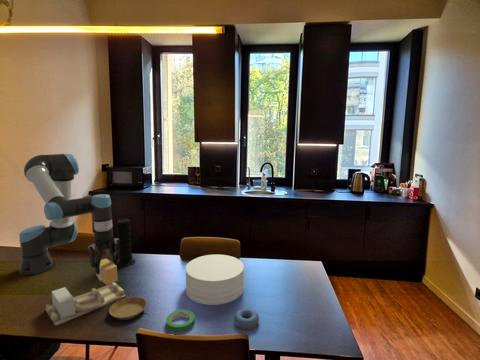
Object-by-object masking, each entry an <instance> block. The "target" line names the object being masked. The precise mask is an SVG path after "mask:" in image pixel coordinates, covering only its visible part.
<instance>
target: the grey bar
mask: <svg viewBox="0 0 480 360" xmlns="http://www.w3.org/2000/svg"><path fill="white" fill-rule="evenodd" d="M73 297H74V296H73V295H72V294H71V293H70V292H69V290H68V288H67V287H66V286H64V287H61V288H58V289H54V290H52V291H51V298H52V299H51V300H52V305H53V307H54V309H55V310H56V312H57V313H58V315H59V316H60V318H61V319H63V318H65V317H68V316H70V315H73V314H75V307H74V298H73Z"/></svg>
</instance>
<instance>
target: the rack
mask: <svg viewBox="0 0 480 360" xmlns="http://www.w3.org/2000/svg"><path fill="white" fill-rule="evenodd" d="M73 298H74V307H75V314H73V315H70V316H68V317H65V318H63V319H61V318H60V316H59V315H58V313H57V312H56V310H55V309H54V307H53V304H52V305H51V304H50V303H48V304H46V305H45V311H46V313H47V314H48V316H49V318H50V319H51V322H52V323H53V325H54V327H56V326H59V325H61V324H64V323H67V322H69V321H71V320H73V319H77V318H78V317H80V316H83V315H86V314H88V313H90V312H93V311H95V310H97V309H100V308H102V307H105V306H107V305H108V306H109V305H111V304H112V303H113V304H114V303H116V302H117V301H119V300H122V299H125V298H127V297H126V294H125V290H124V289H123V288H122V287H121V286H120V285H119V284H118V283H116V282H113V283H111V284H108V285H104V286H102V287H99V288H97V289H96V287H93V288H91V291H88V292H86V293H83V294H80V295H77V296H75V297H74V296H73Z"/></svg>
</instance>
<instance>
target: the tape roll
mask: <svg viewBox="0 0 480 360" xmlns="http://www.w3.org/2000/svg"><path fill="white" fill-rule="evenodd" d="M178 318H186V319H188V321H186V322H184V323H178V324H177V323H174V322H173V321H174V320H176V319H178ZM195 323H196V316H195V313H194V312H193V311H191V310H188V309H177V310H174V311H172V312H171V313H169V314H168V315H167V317H166V320H165V324H166V325H165V326H166V328H167V330H168V331H169V332H172V333H176V334H180V333H184V332H188V331H189V330H190V329H192V328H193V327H194V326H195Z"/></svg>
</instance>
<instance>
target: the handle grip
mask: <svg viewBox="0 0 480 360" xmlns="http://www.w3.org/2000/svg"><path fill="white" fill-rule="evenodd" d="M116 223H117V238H118V239H120V243H119V247H120V260H118V261H117V263H116V265H118V266H117V267H120V266H122V267H124V266H126V267H129V265H130V266H133V265H134V264H135V263H136V260H135V259H134V258H133V251H132V234H131V219H128V218H123V219H119V220H117V221H116ZM124 268H125V267H124Z"/></svg>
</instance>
